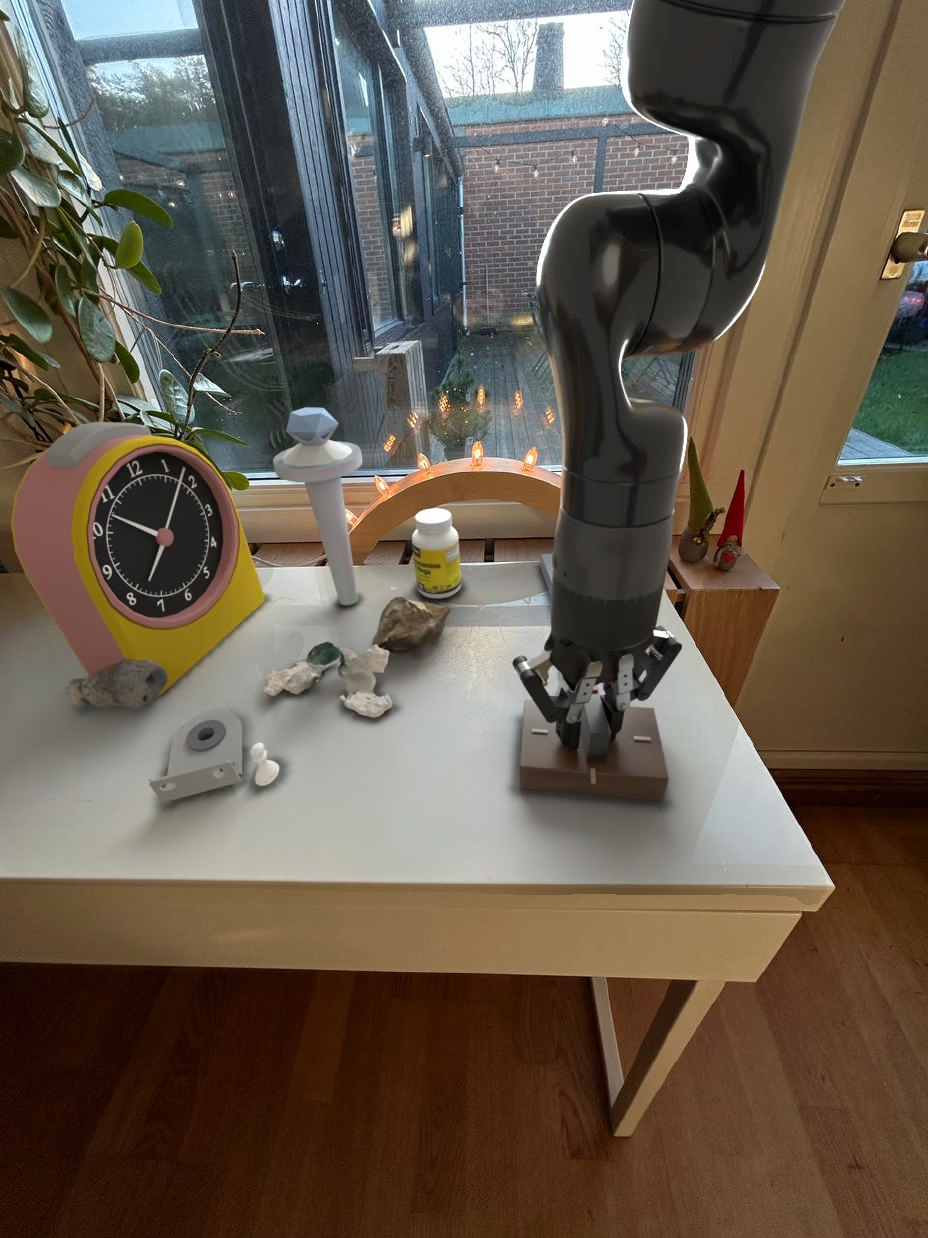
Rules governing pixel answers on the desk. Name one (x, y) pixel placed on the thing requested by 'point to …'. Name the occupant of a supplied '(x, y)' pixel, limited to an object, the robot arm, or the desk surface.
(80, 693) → the stone
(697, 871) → the desk surface
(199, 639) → the alarm clock
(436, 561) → the pill bottle
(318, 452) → the novelty light stick
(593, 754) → the red-tipped grey bar
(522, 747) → the panel
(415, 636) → the fossilized seashell
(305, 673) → the rock
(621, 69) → the robot arm
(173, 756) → the bracket
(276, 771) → the chess pawn
